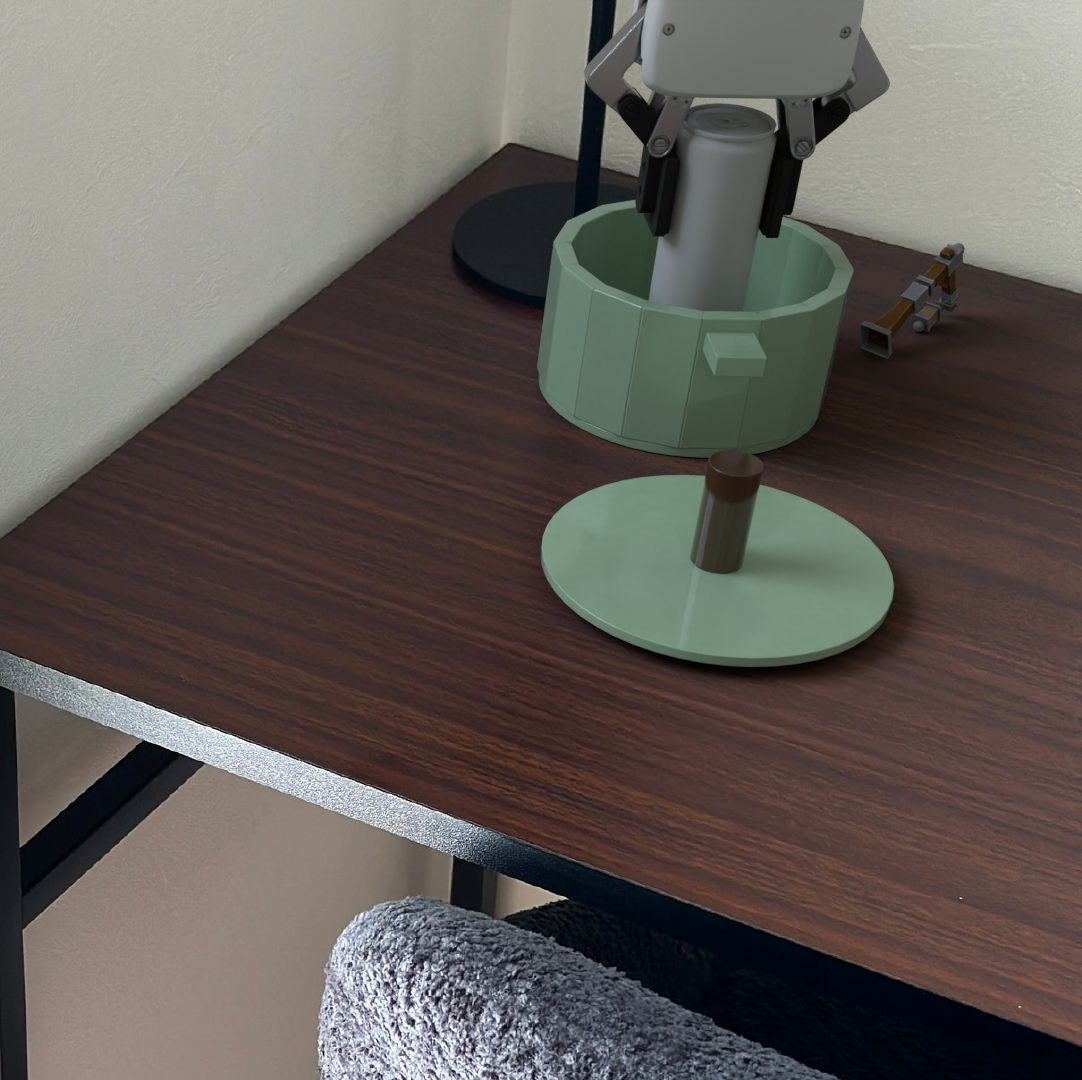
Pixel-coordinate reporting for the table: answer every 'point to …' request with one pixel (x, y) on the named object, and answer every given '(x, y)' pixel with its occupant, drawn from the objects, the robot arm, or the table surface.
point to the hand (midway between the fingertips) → (710, 223)
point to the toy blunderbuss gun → (917, 303)
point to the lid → (717, 568)
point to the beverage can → (715, 208)
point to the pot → (688, 341)
